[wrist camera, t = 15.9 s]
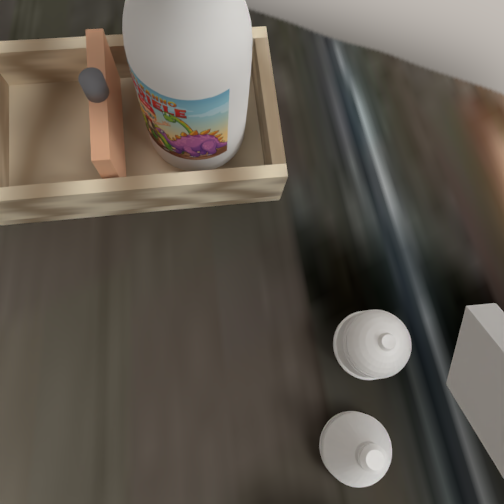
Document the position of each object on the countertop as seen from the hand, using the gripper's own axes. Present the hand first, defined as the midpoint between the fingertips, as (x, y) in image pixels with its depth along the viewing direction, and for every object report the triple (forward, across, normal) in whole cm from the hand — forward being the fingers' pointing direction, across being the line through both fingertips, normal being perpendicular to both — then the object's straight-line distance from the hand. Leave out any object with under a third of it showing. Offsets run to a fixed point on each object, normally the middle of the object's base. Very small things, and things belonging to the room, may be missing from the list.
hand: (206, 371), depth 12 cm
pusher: (+29, -7, -3) cm, 30 cm away
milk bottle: (+30, 0, -3) cm, 30 cm away
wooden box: (+30, -5, -4) cm, 31 cm away
